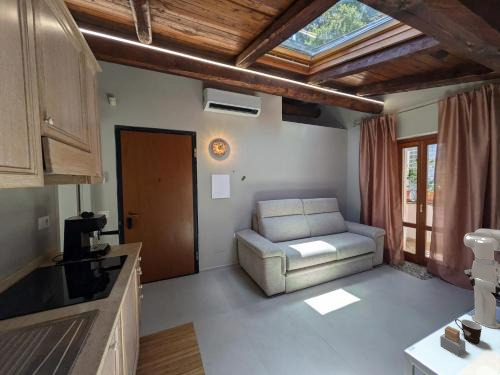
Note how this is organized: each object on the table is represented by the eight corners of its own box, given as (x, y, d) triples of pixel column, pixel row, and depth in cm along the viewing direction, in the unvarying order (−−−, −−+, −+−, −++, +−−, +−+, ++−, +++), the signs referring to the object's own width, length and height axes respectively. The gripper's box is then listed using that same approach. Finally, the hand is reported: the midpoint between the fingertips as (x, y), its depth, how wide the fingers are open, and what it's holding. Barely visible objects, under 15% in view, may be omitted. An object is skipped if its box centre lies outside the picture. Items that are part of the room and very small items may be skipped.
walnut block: (448, 333, 122) (448, 325, 122) (459, 339, 118) (459, 330, 118) (444, 337, 120) (444, 328, 120) (456, 342, 115) (456, 334, 115)
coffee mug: (486, 346, 119) (486, 329, 119) (469, 345, 120) (468, 328, 120) (469, 332, 130) (469, 316, 130) (453, 330, 132) (453, 315, 132)
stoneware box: (447, 341, 124) (447, 331, 124) (465, 351, 117) (465, 340, 116) (440, 346, 121) (440, 336, 121) (458, 356, 113) (458, 345, 113)
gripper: (509, 264, 115) (510, 294, 115) (466, 255, 130) (467, 281, 131) (505, 267, 111) (505, 298, 112) (461, 257, 127) (462, 284, 127)
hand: (484, 289), depth 121 cm, fingers open, 9 cm apart
